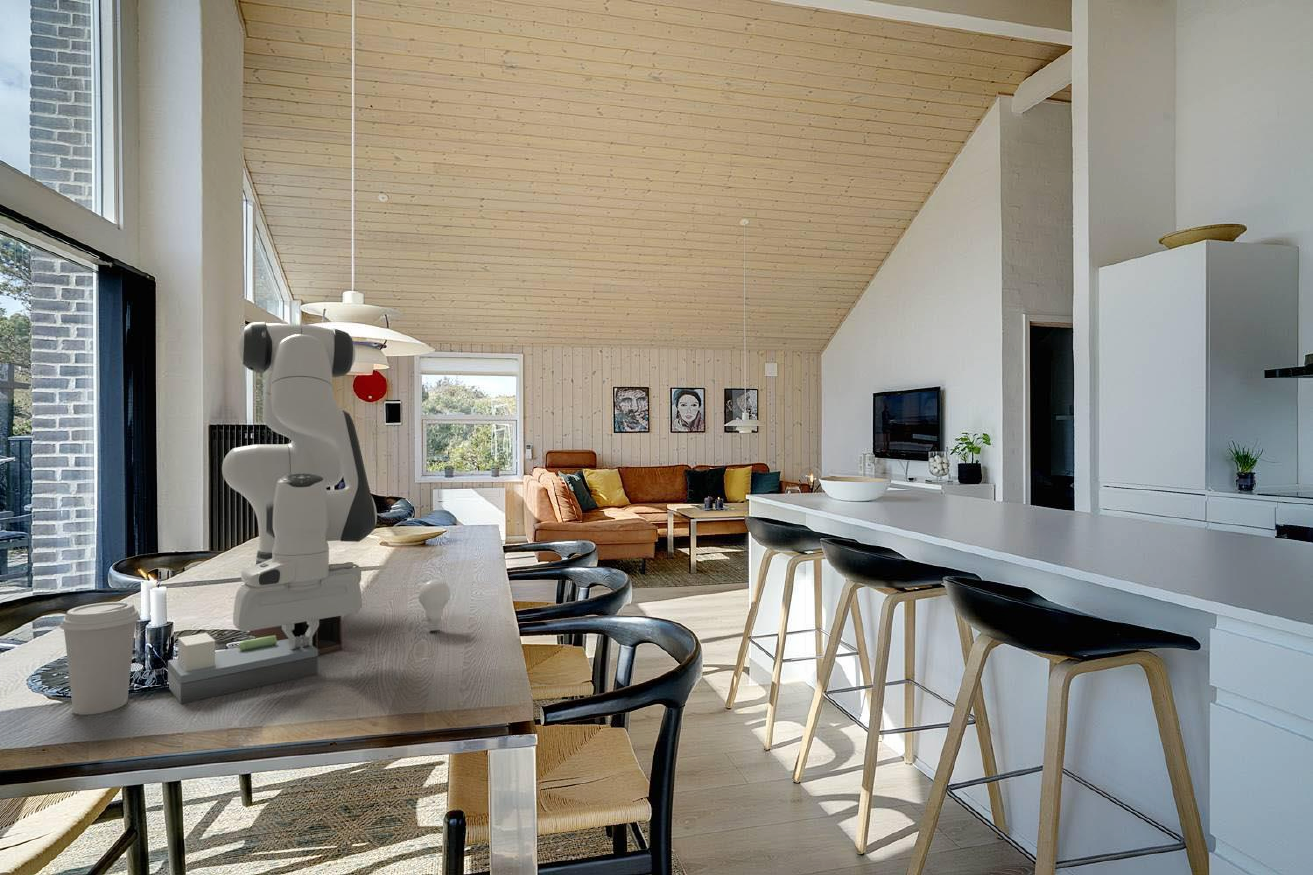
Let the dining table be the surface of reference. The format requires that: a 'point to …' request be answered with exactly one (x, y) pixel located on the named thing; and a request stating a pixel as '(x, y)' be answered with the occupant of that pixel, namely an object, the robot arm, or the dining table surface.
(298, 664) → the base
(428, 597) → the lightbulb
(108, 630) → the coffee cup
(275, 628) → the letter holder
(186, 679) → the tilted grey plate
